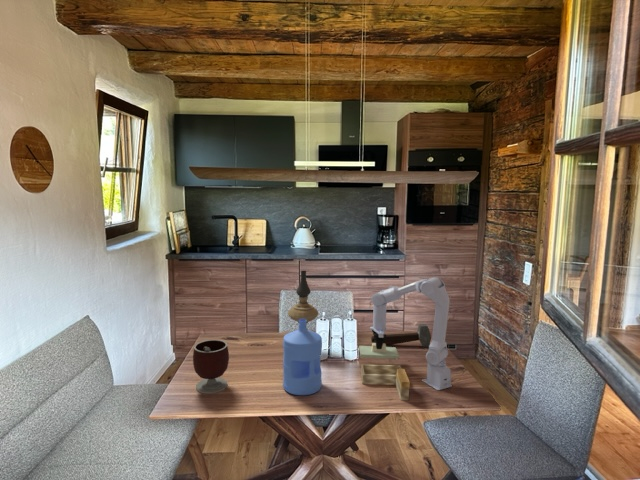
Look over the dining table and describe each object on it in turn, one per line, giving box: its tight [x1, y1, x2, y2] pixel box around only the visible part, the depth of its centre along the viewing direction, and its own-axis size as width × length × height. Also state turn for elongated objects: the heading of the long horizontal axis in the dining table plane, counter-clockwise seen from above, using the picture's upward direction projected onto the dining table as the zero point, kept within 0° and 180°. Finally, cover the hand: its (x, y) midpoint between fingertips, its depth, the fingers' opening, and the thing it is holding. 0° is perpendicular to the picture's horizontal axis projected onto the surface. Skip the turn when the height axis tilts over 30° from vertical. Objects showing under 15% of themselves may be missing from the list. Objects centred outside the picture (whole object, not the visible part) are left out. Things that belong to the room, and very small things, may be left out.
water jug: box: [282, 319, 323, 396], centre depth 163 cm, size 16×16×28 cm
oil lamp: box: [287, 270, 320, 330], centre depth 199 cm, size 15×15×40 cm
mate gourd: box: [192, 339, 230, 395], centre depth 162 cm, size 16×14×20 cm
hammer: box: [370, 323, 432, 348], centre depth 209 cm, size 5×11×30 cm
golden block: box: [397, 368, 411, 389], centre depth 159 cm, size 3×11×2 cm, turn 179°
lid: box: [358, 342, 400, 360], centre depth 184 cm, size 17×10×5 cm, turn 89°
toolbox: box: [360, 364, 410, 401], centre depth 166 cm, size 17×22×5 cm
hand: (378, 347), depth 184 cm, fingers closed on lid, 3 cm apart
